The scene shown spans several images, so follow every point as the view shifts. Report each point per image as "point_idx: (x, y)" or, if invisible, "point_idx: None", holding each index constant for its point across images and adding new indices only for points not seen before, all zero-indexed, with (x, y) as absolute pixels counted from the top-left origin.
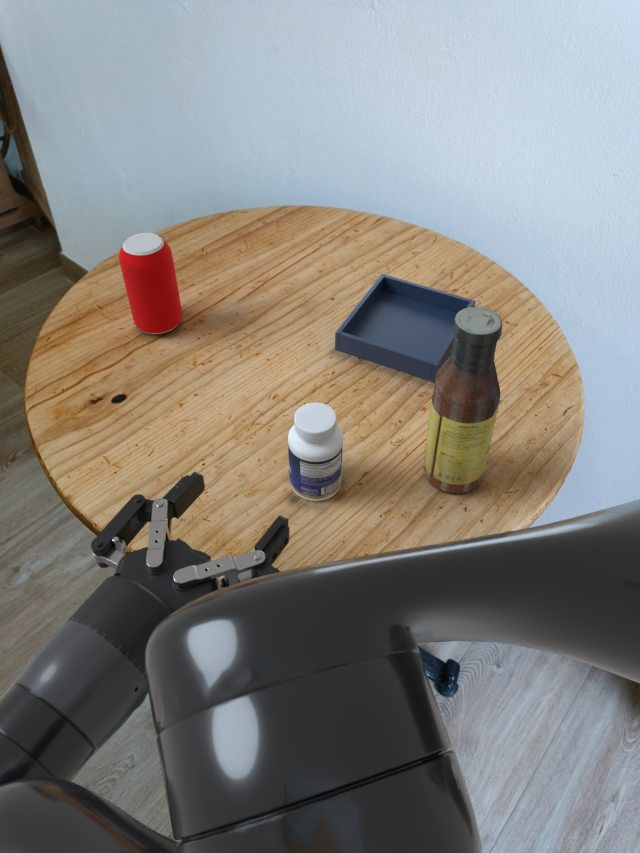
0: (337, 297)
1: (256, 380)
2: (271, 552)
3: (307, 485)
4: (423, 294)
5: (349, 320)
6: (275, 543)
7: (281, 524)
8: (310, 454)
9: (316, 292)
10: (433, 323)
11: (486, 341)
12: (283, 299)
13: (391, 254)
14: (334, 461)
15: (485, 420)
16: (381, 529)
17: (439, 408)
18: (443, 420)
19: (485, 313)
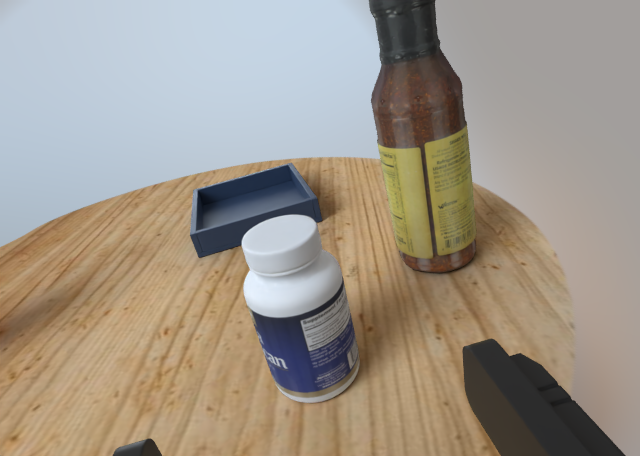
0: (163, 231)
1: (125, 333)
2: (610, 450)
3: (327, 364)
4: (243, 184)
5: (195, 221)
6: (571, 415)
7: (507, 356)
8: (313, 292)
9: (137, 239)
10: (271, 195)
11: None
12: (103, 261)
13: (186, 191)
14: (344, 290)
15: (466, 123)
16: (461, 349)
17: (414, 137)
18: (427, 150)
19: None
